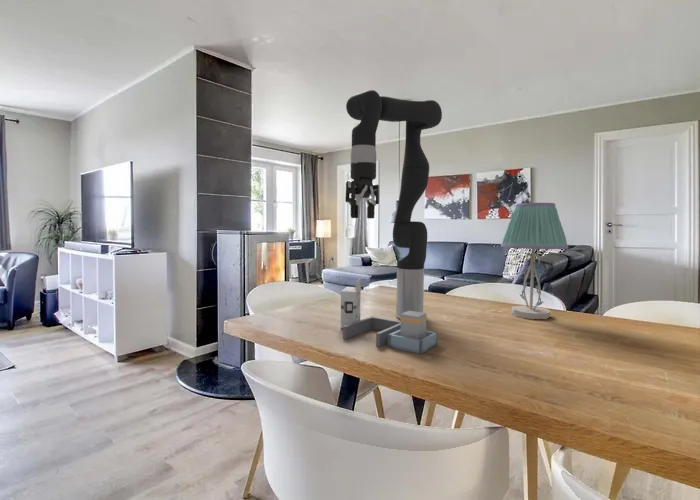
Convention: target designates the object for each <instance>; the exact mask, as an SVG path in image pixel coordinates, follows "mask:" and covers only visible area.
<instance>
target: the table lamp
mask: <svg viewBox="0 0 700 500" xmlns="http://www.w3.org/2000/svg"><path fill="white" fill-rule="evenodd" d="M514 206H515V208H514V209H513V212H512V216H511V218H510V220H509V223H508V225H507V228H506V232H505V233H504V236H503V237H502V241H501V244H500V247H501V248H509V249H510V248H512V249H528V250H529V249H531V252H527V253H526V259H525V260H526V262H528V257H530V265H528V267H527V268H526V269H524V270H523V275H524V279H523V282H522V283H523V285H522V286H523V287H522V291H521V293H518V294H519V296H520V297H521V298H522V299H523V300H524V301H525V304H526V305H513V306H511V315H513V316H514V317H516V316H517V318H521V319H526V318H527V319H528V320H534V319H546V320H548V319H547V318H549V317H552V315H551V313H552V312H551V310H550V309H547V308H544V307H540V306H541V305H542V304H544V302H545V301H544V300H543V301H542V297H541V294H542V291H541V290H542V289H541V283H540V280H541V277H542V276H544V273H545V270H546V268H545V265H544V264H543V262H541V257H540V255H539V254H538V253H537V254H536V250H568V249H569V245H568V242H567V236H566V235H565V231H564V229H563V225H562V222H561V220H560V216H559V213H558V209H557V207H556V203H555V202H520V203H516V204H515V205H514ZM536 257H537V258H538V261H537V262H536ZM529 275H530V282H529V283H530V287H529V302H528V299H527V296H526V288H527V286H528V282H527V280H528V277H529ZM534 278H536V282H537V285H536V286H535V289H536V293H537V294H538V295H537V296H538V297H537V301H536V303H535V305H534V306H533V304H534V303H533V301H534V297H533V296H534V285H535V284H534V282H535V279H534ZM527 319H526V320H527ZM549 319H550V318H549Z"/></svg>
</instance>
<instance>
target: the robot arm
mask: <svg viewBox="0 0 700 500" xmlns="http://www.w3.org/2000/svg"><path fill="white" fill-rule="evenodd" d="M345 108H346V109H345V110H346V112H347V114H348V115H349V116H350V118H352V119H353V120H355V121H360V122H359V124H357V125H356V126H354V127H353V128H352V131H351V151H350V179H351V180H347V181H346V183H345V202H346V203H348V204H349V205H350V218H351V219H358V218H359V215H360V214H359V209H360V208H359V206H360V205H359V203H360V201H361V200H362V199H363V201H365V203H366V205H367V206H366V218H367V219H375V212H376V210H375V207H376V206H377V205H379V204H380V185H379V184H374V183H373V180H376V178H377V150H376V149H377V147H376V146H377V144H376V143H377V140H376V139H377V138H376V137H377V136H376V134H377V131H378V130H377V129H378V127H379V122H380V121H382V122H390V123H391V122H392V123H397V122H398V123H399V122H405V143H404V156H403V164H402V169H401V179H400V190H399V199H398V203H397V208H396V212H395V213H396V214H395V217H394V218H395V219H394V224H393V227H392V228H393V229H392V241H393V243H394V245H395V246H396V247H397V248H401V249H408V254H407V255H406V256H404V257H400V258H399V259H397V261H396V262H397V263H396V305H395V306H396V312H395V316H396V318H397V319H399V320H400V319H401V314H402V313H405V312H407V311H416V312H422V313H424V301H425V300H424V297H425V296H424V295H425V290H424V289H425V288H424V287H425V285H424V284H425V280H424V279H425V262H426V259H427V249H428V247H427V246H428V230H427V227H426V224H425V223H424V222H423V221H417V220H416V221H415V220H414V221H413V220H411V219H412V215H413V211H414V208H415V207H416V204H417V203H418V201H419V200H420V199H421V197H422V196H423V194H424V192H425V191H426V189H427V187H428V184H429V177H430V176H429V174H430V163H429V161H428V158H427V155H426V154H425V153H424V152H425V151H423V148H422V144H421V134H422V131H423V130H424V131H425V130H428V129H433V128H435V127H437V126H438V125H440V123H441V121H442V118H443V117H442V116H443V111H442V108H441V105H440V104H439V102H437V101H436V100H433V99H429V100H428V99H427V100H408V99H400V98H395V97H390V96H385V95H383V96H382V95H380V94H379V92H377V91H376V90H374V89H368V90H365V91H362V92H359V93H356V94H353V95H351V96H350V97H349V98H348V100H347V101H346V105H345Z"/></svg>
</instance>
